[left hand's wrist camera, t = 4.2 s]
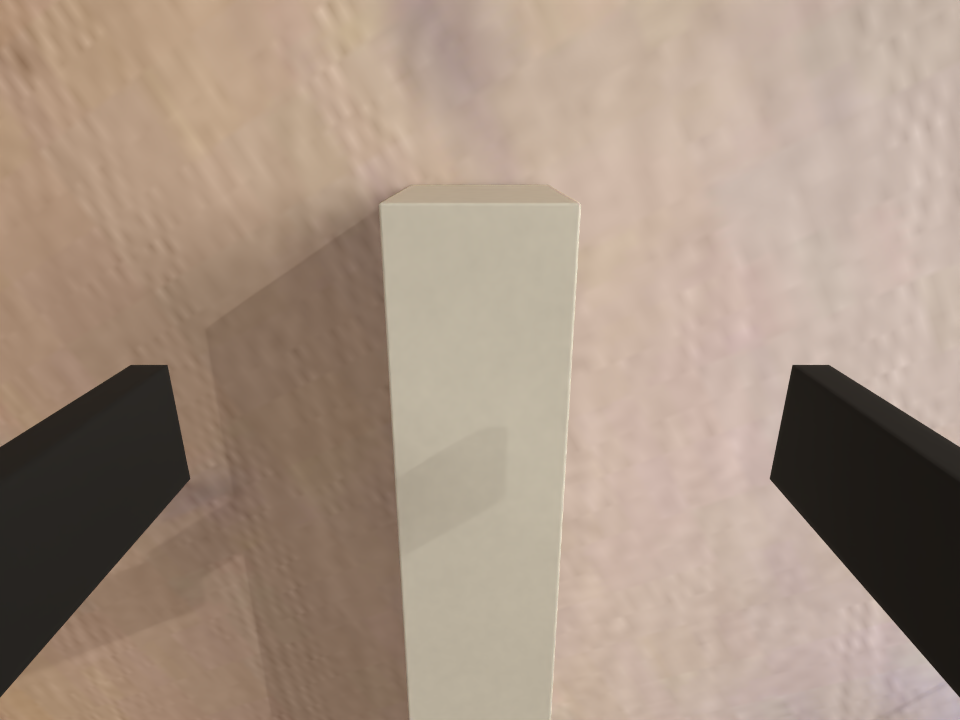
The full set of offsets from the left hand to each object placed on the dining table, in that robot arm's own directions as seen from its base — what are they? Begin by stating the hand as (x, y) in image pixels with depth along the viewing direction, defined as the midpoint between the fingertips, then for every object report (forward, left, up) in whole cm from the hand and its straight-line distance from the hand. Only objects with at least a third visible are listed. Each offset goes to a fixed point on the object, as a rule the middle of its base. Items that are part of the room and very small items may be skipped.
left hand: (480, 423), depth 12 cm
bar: (+26, 0, -13) cm, 29 cm away
